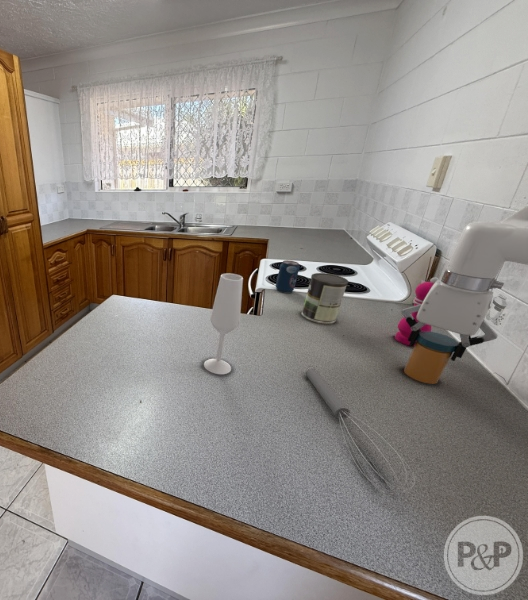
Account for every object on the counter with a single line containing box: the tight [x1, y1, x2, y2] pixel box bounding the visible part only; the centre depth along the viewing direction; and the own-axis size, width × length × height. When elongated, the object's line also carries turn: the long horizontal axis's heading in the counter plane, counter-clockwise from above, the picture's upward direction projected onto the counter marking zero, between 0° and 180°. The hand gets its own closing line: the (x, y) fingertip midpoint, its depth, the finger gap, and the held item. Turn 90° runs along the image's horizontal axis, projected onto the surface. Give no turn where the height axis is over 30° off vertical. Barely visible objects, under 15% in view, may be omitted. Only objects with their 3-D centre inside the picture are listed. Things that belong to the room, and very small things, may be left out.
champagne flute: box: [203, 273, 244, 375], centre depth 74 cm, size 7×7×24 cm
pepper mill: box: [394, 276, 440, 347], centre depth 88 cm, size 7×7×20 cm
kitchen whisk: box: [305, 365, 416, 497], centre depth 61 cm, size 6×34×6 cm, turn 172°
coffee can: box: [301, 272, 349, 325], centre depth 103 cm, size 10×10×14 cm
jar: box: [403, 341, 454, 385], centre depth 75 cm, size 6×6×10 cm
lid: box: [417, 331, 459, 353], centre depth 73 cm, size 7×7×2 cm
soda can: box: [275, 259, 300, 294], centre depth 126 cm, size 7×7×12 cm
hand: (432, 350), depth 74 cm, fingers closed on lid, 6 cm apart
